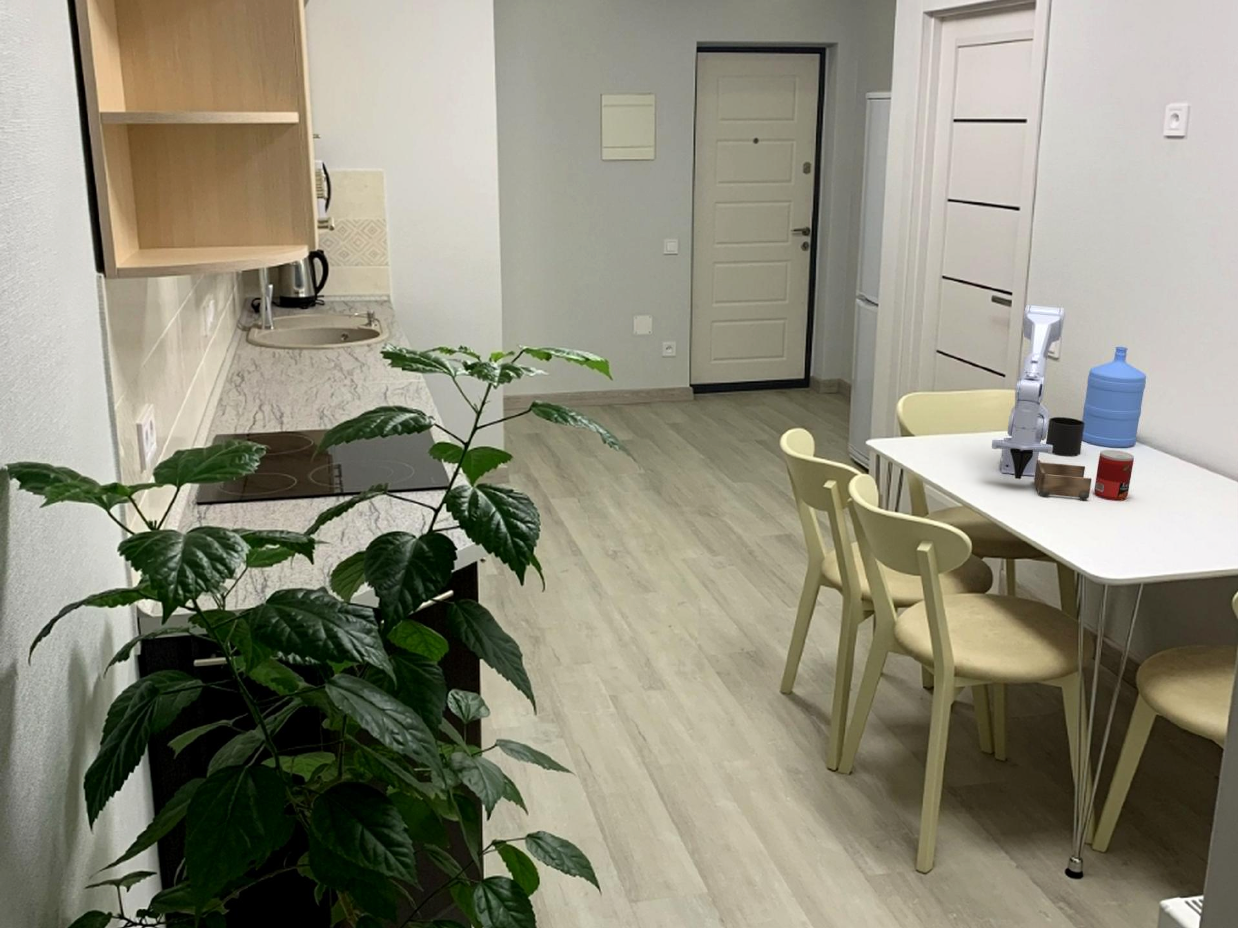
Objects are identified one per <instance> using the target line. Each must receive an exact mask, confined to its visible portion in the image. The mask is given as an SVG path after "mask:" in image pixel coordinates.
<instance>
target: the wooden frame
mask: <svg viewBox="0 0 1238 928" xmlns="http://www.w3.org/2000/svg"><path fill="white" fill-rule="evenodd" d="M1085 471H1086V466H1085V465H1077V464H1064V463H1053V462H1044V461H1042V462H1041V460H1040V459H1038V460H1037V463H1036V470H1035V476H1033V482H1034V484H1035V486H1036V489H1037V492H1038V494H1039V495H1041V496H1042V497H1043V498H1047V497H1049V496H1061V497H1070V498H1079V499H1080V500H1081V501H1083V502H1084V501H1087V499H1089V498H1090V494H1091V493H1090V491H1091V487H1092V486H1091V485H1092V478H1091V477H1090V478H1089V477H1085Z"/></svg>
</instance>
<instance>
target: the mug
mask: <svg viewBox="0 0 1238 928" xmlns="http://www.w3.org/2000/svg"><path fill="white" fill-rule="evenodd" d="M1083 431H1084V422H1082V420H1079V419H1076V418H1071V417H1064V416H1062V417H1060V416H1055V417H1051V418H1050V417H1049V424H1048V431H1047V436H1046V439H1045V440H1046V441H1045V444H1048V445H1052V446H1053V450H1052V454H1053V455H1055V456H1056V455H1057V456H1062V457H1074V456H1075V457H1076V456H1079V455H1080V454H1081V451H1082V442H1083V440H1082V437H1083ZM1052 454H1051V455H1052Z"/></svg>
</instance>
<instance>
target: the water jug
mask: <svg viewBox="0 0 1238 928" xmlns="http://www.w3.org/2000/svg"><path fill="white" fill-rule="evenodd" d="M1127 351H1128V348H1127V347H1123V346H1116V347H1115V353H1114V358H1113V360H1112V361H1110V362H1106V363H1103V364H1100V365H1098V366H1094V367H1091V368H1090V369H1089V372H1088V376H1087V386H1086V391H1085V392H1086V393H1085V399H1084V400H1085V401H1084V404H1083V413H1082V419H1081V421H1082V422H1084V431H1083V437H1082V441H1083V442H1086V443H1087V444H1091V445H1094V446H1099V447H1105V448H1117V449H1119V448H1120V449H1121V448H1130V447H1132V446H1134V445H1135V444H1136V442H1137V438H1138V436H1137V435H1138V427H1139V421H1140V417H1141V414H1142V404H1143V399H1144V392H1145V388H1146V382H1147V381H1146V380H1147V376H1146V374H1145V373H1144V372H1142V371H1141V370H1139V369H1138V368H1136V367H1134V366H1133V365H1131V364H1129V363H1127V361H1126V359H1127V355H1128V354H1127Z"/></svg>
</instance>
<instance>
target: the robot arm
mask: <svg viewBox="0 0 1238 928" xmlns="http://www.w3.org/2000/svg"><path fill="white" fill-rule="evenodd" d="M1065 316H1066V310H1065V308H1064V307H1055V306H1053V307H1052V306H1044V305H1041V306H1040V305H1031V304H1027V305H1026V306H1025V308H1024V314H1023V320H1022V321H1023V322H1022V327H1023V329H1022V333H1023V336H1024V338H1026V339H1027V340H1029V341H1030V346H1029V354H1028V355H1026V356H1025V357H1024V358H1023V361H1022V367H1021V370H1020V371H1021V372H1020V376H1019V380H1017V382H1016V385H1015V390H1014V391H1015V392H1014V406H1013V407H1012V408H1011V411H1010V414H1009V418H1008V419H1009V420H1008V425H1007V436H1009V437H1004V438H1003V439H991V440H992V442H991V449H992V450H997V449H999V450H1001V455H1000V459H999V468H1000V471H1001V473H1002V474H1008V475H1009V474H1010V475H1014V479H1016V480H1021V479H1022V477H1023V476H1031V477H1035V470H1036V463H1037V460H1039V454H1040V453H1045V454H1049V455H1052V450H1053V446H1052V445H1048V444H1046V443H1041V442H1042V441H1044V440H1046V439H1047V432H1048V425H1049V419H1050V413H1049V410H1048V409H1047V408H1046V407H1045V406H1044V405H1043V404H1042V401H1043V398H1044V395H1045V394H1044V393H1045V375H1046V370H1047V366H1048V356H1049V350H1050V349H1051V346H1052V344H1053V343H1055V342H1057V341H1060V339H1061V337H1062V333H1063V328H1064V322H1065Z"/></svg>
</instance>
